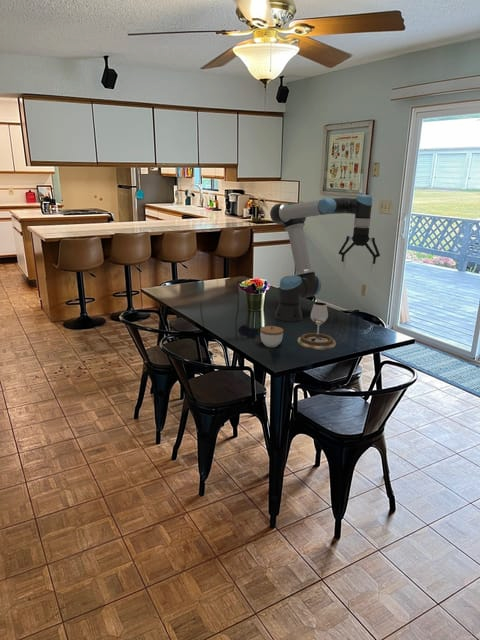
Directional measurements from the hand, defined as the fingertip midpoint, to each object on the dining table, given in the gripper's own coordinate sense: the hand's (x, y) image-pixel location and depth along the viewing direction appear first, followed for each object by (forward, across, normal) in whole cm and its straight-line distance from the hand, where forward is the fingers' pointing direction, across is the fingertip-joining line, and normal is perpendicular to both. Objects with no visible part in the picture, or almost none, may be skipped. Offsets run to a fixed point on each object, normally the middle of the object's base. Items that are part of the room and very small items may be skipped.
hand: (357, 269), depth 243 cm
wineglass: (+31, +15, +30) cm, 45 cm away
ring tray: (+32, +15, +30) cm, 46 cm away
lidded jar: (+32, +35, +40) cm, 62 cm away
